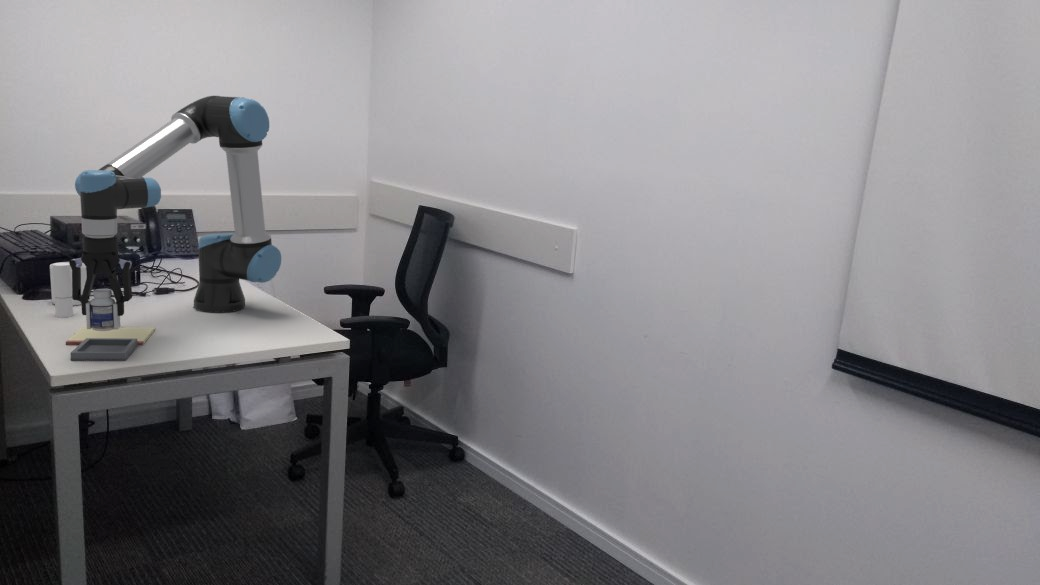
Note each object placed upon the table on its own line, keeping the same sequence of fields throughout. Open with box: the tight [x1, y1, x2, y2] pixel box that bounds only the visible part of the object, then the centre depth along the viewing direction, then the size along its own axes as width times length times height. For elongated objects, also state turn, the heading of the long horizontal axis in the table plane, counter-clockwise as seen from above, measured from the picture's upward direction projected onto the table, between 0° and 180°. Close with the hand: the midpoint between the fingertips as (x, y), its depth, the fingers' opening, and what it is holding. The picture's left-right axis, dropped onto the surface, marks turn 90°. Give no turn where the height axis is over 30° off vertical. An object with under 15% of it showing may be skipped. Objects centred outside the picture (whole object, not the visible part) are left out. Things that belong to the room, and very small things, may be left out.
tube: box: [52, 262, 74, 318], centre depth 220 cm, size 4×4×15 cm
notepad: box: [65, 326, 156, 346], centre depth 206 cm, size 18×14×1 cm
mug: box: [49, 261, 88, 307], centre depth 235 cm, size 10×12×12 cm
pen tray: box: [70, 338, 139, 362], centre depth 193 cm, size 12×12×2 cm
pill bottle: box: [90, 288, 116, 331], centre depth 191 cm, size 5×5×10 cm
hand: (103, 327), depth 192 cm, fingers closed on pill bottle, 5 cm apart
